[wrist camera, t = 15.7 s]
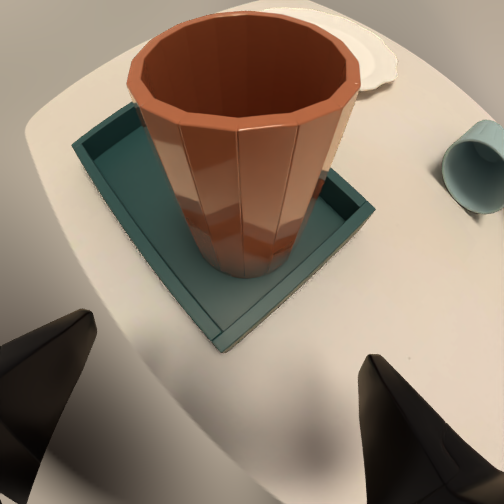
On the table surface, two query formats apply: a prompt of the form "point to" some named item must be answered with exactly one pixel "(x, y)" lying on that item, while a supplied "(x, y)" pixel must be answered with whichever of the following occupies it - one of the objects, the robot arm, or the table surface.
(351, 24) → the plate
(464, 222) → the table surface
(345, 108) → the tumbler
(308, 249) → the tray
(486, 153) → the cup
